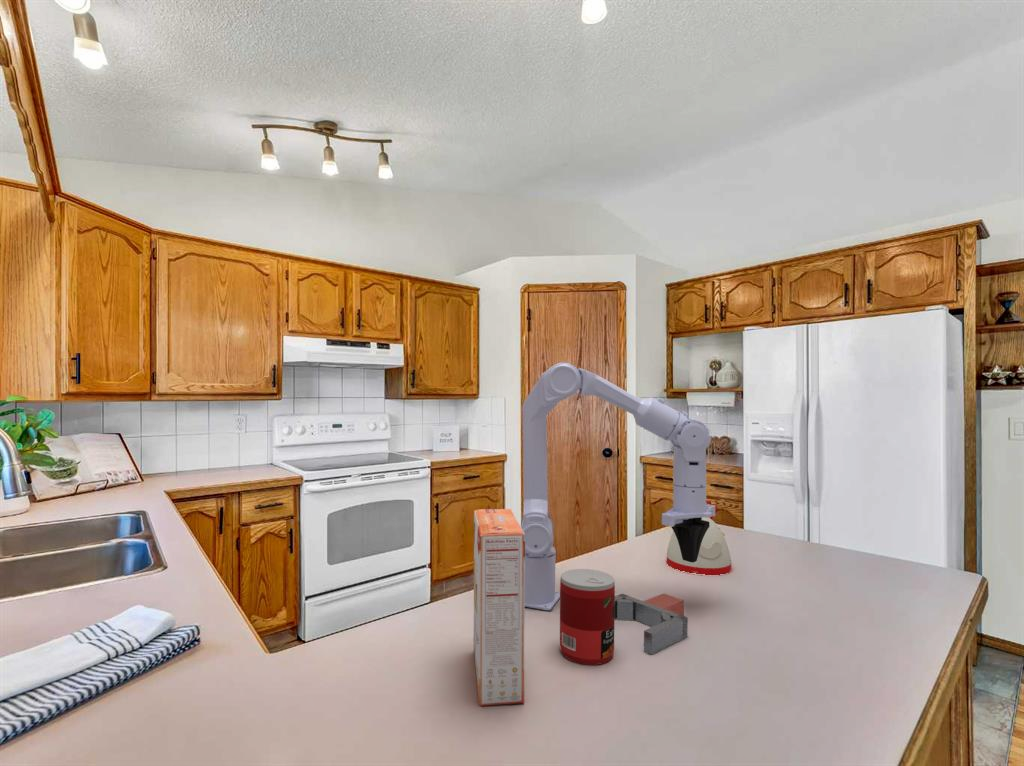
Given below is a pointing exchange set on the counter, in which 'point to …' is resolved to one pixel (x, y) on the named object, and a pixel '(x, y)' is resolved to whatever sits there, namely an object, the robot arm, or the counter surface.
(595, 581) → the canned food
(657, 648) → the clamp
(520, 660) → the cracker box
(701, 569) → the kitchen timer
